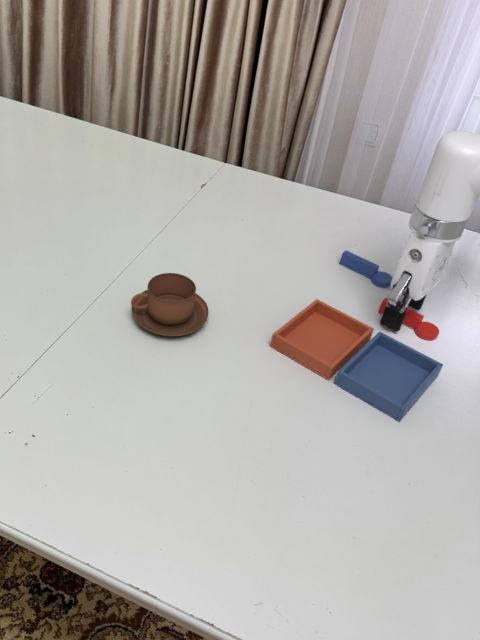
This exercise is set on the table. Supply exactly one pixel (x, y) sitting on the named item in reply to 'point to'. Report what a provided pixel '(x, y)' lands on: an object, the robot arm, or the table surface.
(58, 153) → the table surface
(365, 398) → the slate tray
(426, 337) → the red spoon
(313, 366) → the terracotta tray
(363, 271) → the blue spoon
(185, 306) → the cup and saucer
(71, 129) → the table surface
